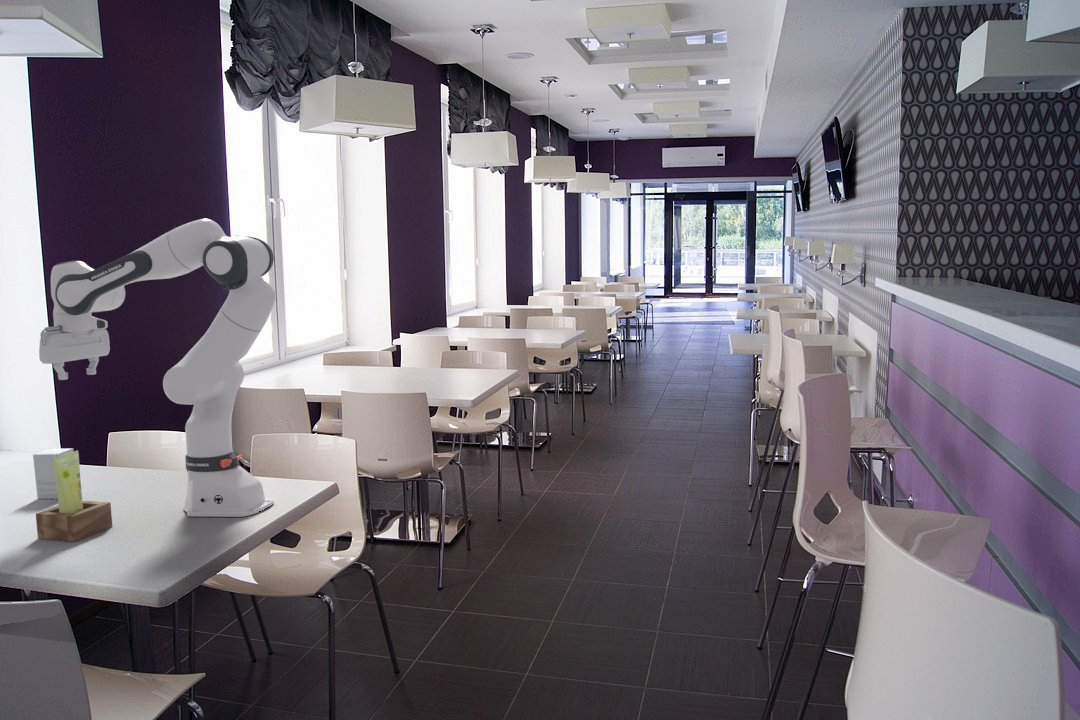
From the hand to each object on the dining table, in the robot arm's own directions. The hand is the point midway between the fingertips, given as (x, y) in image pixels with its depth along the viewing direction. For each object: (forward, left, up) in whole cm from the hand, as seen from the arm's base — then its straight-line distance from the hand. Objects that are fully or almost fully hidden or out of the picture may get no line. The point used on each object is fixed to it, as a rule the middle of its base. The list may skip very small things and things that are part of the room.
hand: (77, 377), depth 226 cm
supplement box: (+15, -5, -34) cm, 38 cm away
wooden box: (-16, +21, -34) cm, 43 cm away
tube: (-16, +22, -34) cm, 44 cm away
